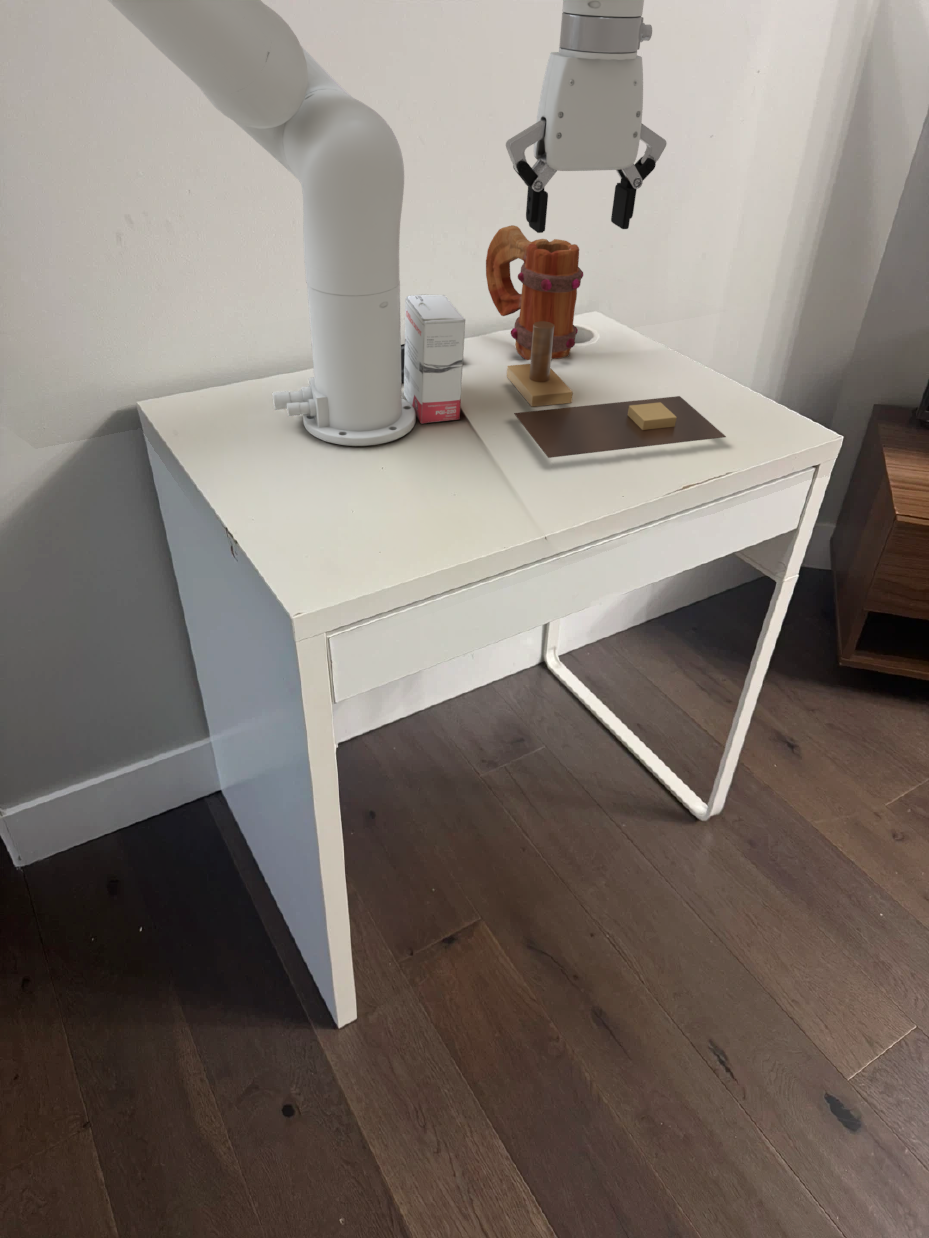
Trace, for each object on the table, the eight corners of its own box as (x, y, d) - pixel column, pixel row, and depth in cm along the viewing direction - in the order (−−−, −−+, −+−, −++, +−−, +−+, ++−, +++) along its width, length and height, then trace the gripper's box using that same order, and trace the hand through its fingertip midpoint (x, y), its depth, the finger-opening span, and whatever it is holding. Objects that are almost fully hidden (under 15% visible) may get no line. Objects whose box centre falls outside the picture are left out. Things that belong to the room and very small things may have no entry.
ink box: (463, 421, 101) (466, 317, 93) (420, 425, 99) (420, 320, 92) (442, 390, 107) (444, 291, 100) (402, 394, 106) (401, 294, 98)
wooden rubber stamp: (530, 416, 102) (536, 340, 96) (506, 385, 109) (510, 313, 103) (570, 412, 103) (579, 337, 98) (543, 382, 110) (550, 310, 104)
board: (547, 467, 92) (548, 457, 92) (513, 422, 101) (513, 412, 100) (724, 446, 97) (726, 436, 97) (678, 405, 106) (679, 395, 105)
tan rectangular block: (642, 430, 97) (644, 420, 97) (627, 415, 100) (628, 405, 100) (675, 426, 98) (676, 417, 97) (658, 411, 101) (660, 402, 100)
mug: (590, 359, 116) (604, 239, 107) (551, 376, 111) (562, 252, 102) (507, 329, 124) (513, 216, 115) (467, 344, 119) (471, 226, 110)
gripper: (662, 35, 89) (636, 216, 99) (501, 32, 85) (491, 222, 95) (698, 43, 83) (666, 234, 94) (527, 41, 79) (514, 241, 90)
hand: (578, 227), depth 95 cm, fingers open, 9 cm apart
